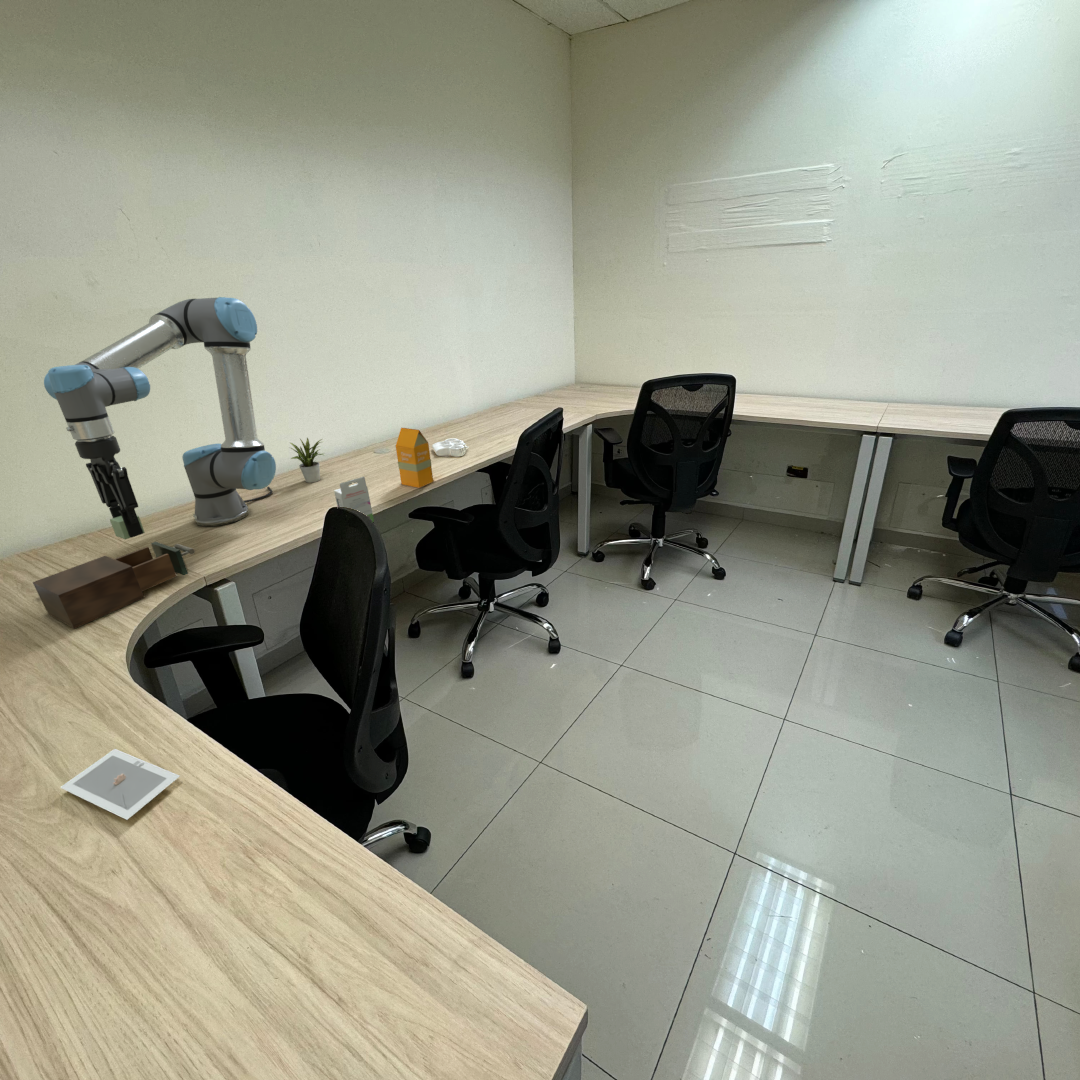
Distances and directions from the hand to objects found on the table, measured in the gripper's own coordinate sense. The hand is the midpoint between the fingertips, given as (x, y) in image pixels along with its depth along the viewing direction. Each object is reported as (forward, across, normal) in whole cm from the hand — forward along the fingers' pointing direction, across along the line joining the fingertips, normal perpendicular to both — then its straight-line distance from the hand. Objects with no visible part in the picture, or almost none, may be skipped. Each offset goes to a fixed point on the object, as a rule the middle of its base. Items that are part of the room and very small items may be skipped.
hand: (131, 533), depth 133 cm
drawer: (+13, 0, +2) cm, 13 cm away
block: (0, 0, 0) cm, 0 cm away
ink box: (+14, +20, +50) cm, 56 cm away
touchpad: (+14, +63, -36) cm, 74 cm away
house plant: (+13, -27, +73) cm, 79 cm away
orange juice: (+13, +11, +87) cm, 89 cm away
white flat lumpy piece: (+13, -3, +125) cm, 126 cm away
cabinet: (+14, 0, -12) cm, 18 cm away
